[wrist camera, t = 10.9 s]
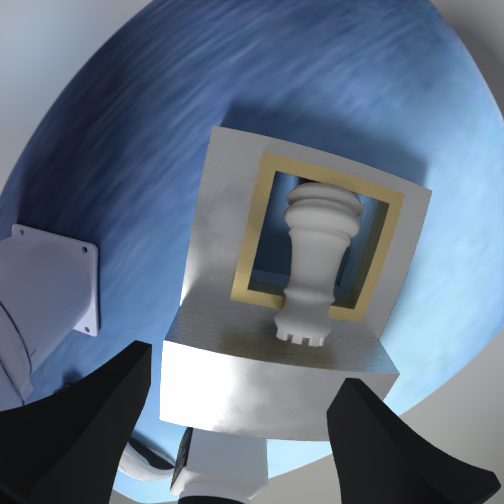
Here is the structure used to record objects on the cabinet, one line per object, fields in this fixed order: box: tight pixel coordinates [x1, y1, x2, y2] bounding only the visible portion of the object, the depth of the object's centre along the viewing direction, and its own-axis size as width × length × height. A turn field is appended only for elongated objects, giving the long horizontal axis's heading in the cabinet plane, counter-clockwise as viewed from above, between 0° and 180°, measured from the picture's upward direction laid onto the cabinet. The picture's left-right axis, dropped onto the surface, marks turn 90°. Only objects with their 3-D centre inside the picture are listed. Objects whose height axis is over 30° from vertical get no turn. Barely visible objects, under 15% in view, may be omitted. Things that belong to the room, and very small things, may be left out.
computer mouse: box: [58, 383, 175, 481], centre depth 24 cm, size 10×18×4 cm, turn 43°
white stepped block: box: [160, 126, 432, 441], centre depth 17 cm, size 14×18×6 cm
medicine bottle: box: [170, 426, 268, 504], centre depth 19 cm, size 7×7×12 cm
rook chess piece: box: [273, 182, 364, 347], centre depth 15 cm, size 4×4×8 cm
